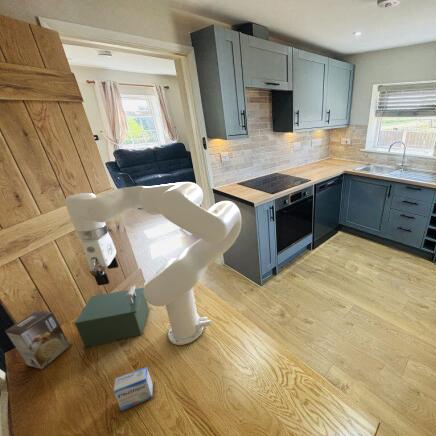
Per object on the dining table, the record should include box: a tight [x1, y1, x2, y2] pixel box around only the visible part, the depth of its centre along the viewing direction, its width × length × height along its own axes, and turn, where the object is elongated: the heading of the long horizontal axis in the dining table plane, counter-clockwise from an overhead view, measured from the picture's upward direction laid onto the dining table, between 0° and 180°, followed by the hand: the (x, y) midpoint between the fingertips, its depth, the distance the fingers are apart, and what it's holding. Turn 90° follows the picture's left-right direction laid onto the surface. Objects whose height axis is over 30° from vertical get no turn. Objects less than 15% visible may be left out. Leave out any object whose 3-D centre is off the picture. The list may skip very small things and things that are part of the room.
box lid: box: [74, 285, 145, 326], centre depth 88 cm, size 18×14×6 cm
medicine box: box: [112, 366, 154, 412], centre depth 68 cm, size 8×4×9 cm, turn 118°
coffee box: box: [4, 309, 71, 370], centre depth 78 cm, size 9×6×16 cm
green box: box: [75, 294, 150, 348], centre depth 91 cm, size 18×14×11 cm
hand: (108, 275), depth 83 cm, fingers open, 9 cm apart
